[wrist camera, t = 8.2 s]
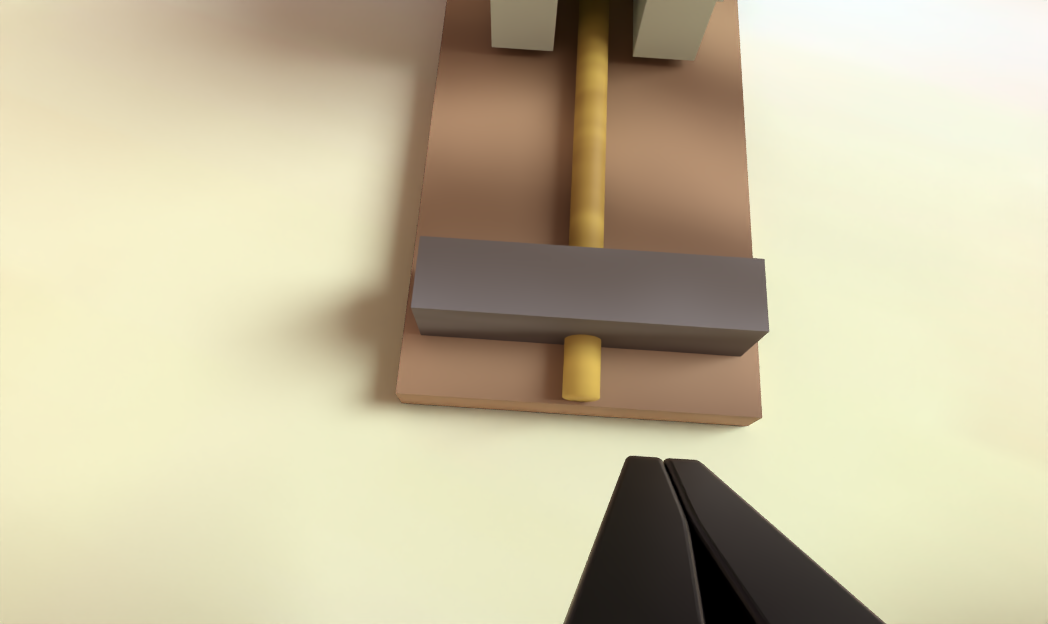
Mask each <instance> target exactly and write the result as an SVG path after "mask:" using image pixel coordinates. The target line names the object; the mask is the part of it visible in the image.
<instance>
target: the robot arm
mask: <svg viewBox="0 0 1048 624" xmlns="http://www.w3.org/2000/svg"><path fill="white" fill-rule="evenodd" d="M563 624H886V623H884V622H883V621H882V620H881V619H880V618H879V617H878V616H876V615H875V614H874V613H873V612H872V611H871V610H870V609H868V608H867V607H866V606H865V605H864V604H863V603H862V602H860V601H859V600H858V599H857V598H856V597H855V596H854V595H852V594H851V593H850V592H849V591H848V590H847V589H846V588H844V587H843V586H842V585H841V584H840V583H839V582H837V581H836V580H835V579H834V578H833V577H832V576H831V575H829V574H828V573H827V572H826V571H825V570H824V569H823V568H821V567H820V566H819V565H818V564H817V563H816V562H815V561H813V560H812V559H811V558H810V557H809V556H808V555H807V554H805V553H804V552H803V551H802V550H801V549H800V548H799V547H797V546H796V545H795V544H794V543H793V542H792V541H791V540H789V539H788V538H787V537H786V536H785V535H784V534H783V533H781V532H780V531H779V530H778V529H777V528H776V527H775V526H773V525H772V524H771V523H770V522H769V521H768V520H767V519H765V518H764V517H763V516H762V515H761V514H760V513H759V512H757V511H756V510H755V509H754V508H753V507H752V506H751V505H749V504H748V503H747V502H746V501H745V500H744V499H743V498H741V497H740V496H739V495H738V494H737V493H736V492H734V491H733V490H732V489H731V488H730V487H729V486H728V485H726V484H725V483H724V482H723V481H722V480H721V479H720V478H718V477H717V476H716V475H715V474H714V473H713V472H712V471H710V470H709V469H708V468H707V467H706V466H705V465H704V464H702V463H701V462H699V461H697V460H688V459H671V458H668V459H666V460H664V461H662V460H661V459H660V458H656V457H642V456H629V457H627V458H626V460H625V462H624V465H623V468H622V470H621V473H620V476H619V478H618V481H617V484H616V486H615V489H614V491H613V494H612V497H611V499H610V502H609V505H608V507H607V510H606V513H605V515H604V518H603V520H602V523H601V526H600V528H599V531H598V534H597V536H596V539H595V542H594V544H593V547H592V549H591V552H590V555H589V557H588V560H587V563H586V565H585V568H584V571H583V573H582V576H581V578H580V581H579V584H578V586H577V589H576V592H575V594H574V597H573V599H572V602H571V605H570V607H569V610H568V613H567V615H566V618H565V621H564V623H563Z"/></svg>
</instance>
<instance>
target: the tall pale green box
mask: <svg viewBox="0 0 1048 624" xmlns="http://www.w3.org/2000/svg"><path fill="white" fill-rule="evenodd" d="M716 1H718V2H723V1H724V0H633V57H646V58H660V59H675V60H690V61H694V60H695V57H696V54H697V52H698V49H699V46H700V44H701V41H702V38H703V35H704V33H705V30H706V27H707V25H708V22H709V19H710V17H711V14H712V11H713V9H714V6H715V3H716ZM557 3H558V0H490V4H491V40H492V47H498V48H513V49H527V50H542V51H553V46H554V35H555V24H556V13H557Z"/></svg>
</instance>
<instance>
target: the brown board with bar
mask: <svg viewBox="0 0 1048 624" xmlns="http://www.w3.org/2000/svg"><path fill="white" fill-rule="evenodd" d="M768 332H769V322H768V307H767V292H766V277H765V262H764V259H757V258H753V256H752V239H751V222H750V205H749V188H748V172H747V155H746V138H745V121H744V105H743V88H742V71H741V54H740V37H739V21H738V4H737V0H724V1H723V2H718V1H716V3H715V6H714V9H713V11H712V14H711V17H710V19H709V22H708V25H707V27H706V30H705V33H704V35H703V38H702V41H701V44H700V46H699V49H698V52H697V54H696V57H695V60H694V61H690V60H675V59H660V58H646V57H633V0H558V3H557V13H556V24H555V35H554V46H553V51H542V50H527V49H513V48H498V47H492V40H491V4H490V0H447V3H446V11H445V18H444V26H443V34H442V41H441V49H440V57H439V64H438V72H437V80H436V87H435V95H434V103H433V110H432V118H431V125H430V133H429V141H428V148H427V156H426V164H425V171H424V179H423V187H422V194H421V202H420V210H419V217H418V225H417V233H416V240H415V248H414V255H413V263H412V271H411V278H410V286H409V294H408V301H407V309H406V317H405V324H404V332H403V340H402V347H401V355H400V363H399V370H398V378H397V385H396V395H397V396H398V398H399V399H400V401H401V402H402V403H411V404H426V405H441V406H455V407H470V408H485V409H500V410H515V411H530V412H545V413H560V414H575V415H590V416H605V417H620V418H635V419H650V420H665V421H680V422H695V423H710V424H724V425H739V426H748V425H750V424H752V423H754V422H755V421H757V420H759V419H761V418H762V407H761V390H760V373H759V356H758V341H759V340H760V339H761V338H762V337H763V336H765V335H766V334H767V333H768Z"/></svg>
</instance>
